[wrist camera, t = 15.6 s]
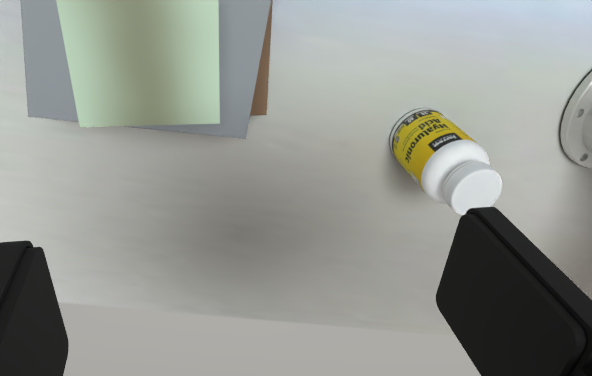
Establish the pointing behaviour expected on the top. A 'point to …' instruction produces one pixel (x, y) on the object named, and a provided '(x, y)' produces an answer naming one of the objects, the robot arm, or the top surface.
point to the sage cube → (143, 61)
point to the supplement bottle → (445, 161)
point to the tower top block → (233, 123)
